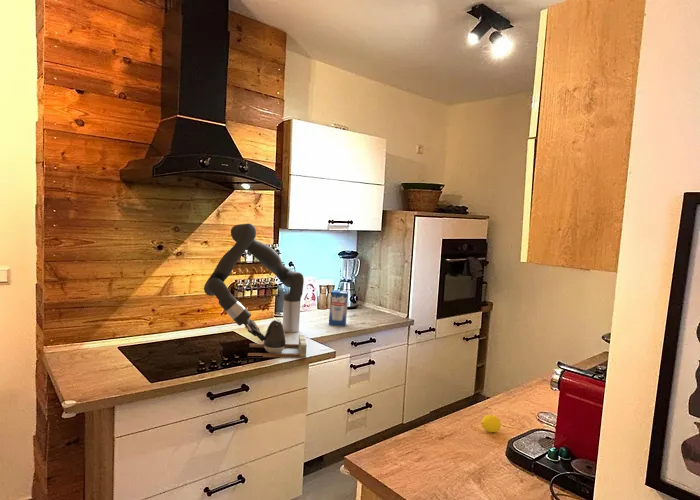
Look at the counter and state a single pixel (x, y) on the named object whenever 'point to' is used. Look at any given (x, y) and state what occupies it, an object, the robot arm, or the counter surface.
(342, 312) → the milk carton
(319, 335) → the counter surface
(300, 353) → the track
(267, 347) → the dark grey rounded cone
